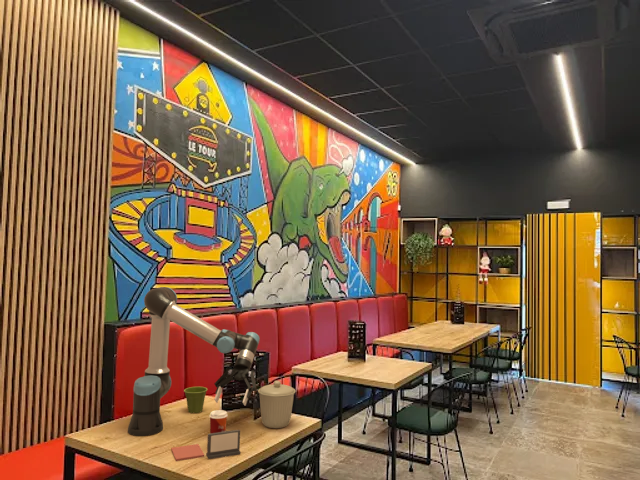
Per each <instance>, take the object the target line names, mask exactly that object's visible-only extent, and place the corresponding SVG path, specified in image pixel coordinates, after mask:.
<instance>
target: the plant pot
mask: <svg viewBox="0 0 640 480" xmlns="http://www.w3.org/2000/svg"><path fill="white" fill-rule="evenodd" d="M207 391H208V388H207V387H204V386H191V387H187V388H185V389H184V390H183V392H184V393H185V397H186V406H187V412H188V413H190V414H199V413H202V411H203V409H204V404H205V398H206V394H207Z"/></svg>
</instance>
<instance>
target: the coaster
mask: <svg viewBox="0 0 640 480" xmlns="http://www.w3.org/2000/svg"><path fill="white" fill-rule="evenodd" d="M170 450H171V453H172V455H173V458H174V460H175V462H180V461H185V460H193V459H201V458H205V454H204V452H203V449H202V448H201V446H200V445H199V444H198V443H196V444H190V445H189V444H188V445H181V446H173V447H171V449H170Z"/></svg>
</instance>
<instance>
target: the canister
mask: <svg viewBox="0 0 640 480" xmlns="http://www.w3.org/2000/svg"><path fill="white" fill-rule="evenodd" d="M257 392H258V394H259V405H260V407H259V408H260V417H261V422H262V424H263V426H265V427H266V428H270V429H282V428H284V427H287V426H289V424H290V422H291V416H292V411H293V404H294V397H295V396H294V395H295V393H296V389H295V388H294V387H292V386H290V385H287V384H282V382H281V381H280V380H274V381H273V383H272V384H266V385H263V386H261V387H260V388H259V389H258V390H257Z"/></svg>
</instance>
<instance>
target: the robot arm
mask: <svg viewBox="0 0 640 480" xmlns="http://www.w3.org/2000/svg"><path fill="white" fill-rule="evenodd" d="M143 301H144V302H143V304H144V306H145V308H146V309H147V311H148V316H150V318H151V327H150V339H149V340H150V341H149V352H148V353H149V355H148V367H147V368H146V369H145V370H144V376H141V377H138V378H136V379H135V381H134V384H133V389H132V390H133V396H132V397H133V399H132V415H131V418H130V421H129V423H128V426H127V433H128V434H129V435H131V436H136V437H146V436H147V437H148V436H152V435H156V434H158V433H161V432H162V431H163V430H164V423H163V419H162V416H161V413H160V412H161V410H160V409H161V399H162V398H163V397H164V396H165V395H166V394H167V393H168V392H169V391H170V389H171V387H172V378H171V374H170V368H169V367H168V356H169V355H168V354H169V340H170V327H171V325H170V324H171V322H173V324H175V325H177V326H179V327H181V328H182V329H184V330H187V331H188V332H190V333H191V334H193V335H194V336H197V337H198V338H200V339H202V340H203V341H205V342H207V343H208V344H210V345H212V346H213V347H215V348H217V350H218V352H219V353H221V354H228V353H231V352H232V351H233V350H234V349H235V350H238V351H239V353H238V355H237V358H236V360H235V363H234V367H233V369H230V368H229V367H227V368H226V369H225V371H224V372H223V374H222V375H220V376H219V378H218V379H217V380H216V381H215V382H214V386H215V387H216V389H215V393H214V394H215V396H214V401H215V403H219V400H220V398H221V395H222V392H223V388H224V387H226V386H227V385H229V383H231V382H232V381H238V380H239V381H242V380H244V382H245V384H246V386H247V389H245V390H246V391H245V394H244V397H243V399H242V404H243V405H244V406H247V403H248V400H249V399H250V398H251V396H252V393H253V392H256V391H257V392H258V390H257V384H256V378H255V377H256V376H255V375H256V373H255V371H254V369H252V370H251V367H252V364H253V362H254V358H255V356H256V353H257V350H258V346H259V344H260V340H261V339H260V335H258V334H257V333H256V332H253V331H248V332H247V333H246V334H242V333H238V332H236V331H231V330H230V329H225V328H224V329H219V328H217V327H216V326H214V325H212V324H211V323H210V322H207V321H205V320H203V319H202V318H201V317H198V316H197V315H195V314H194V313H191V312H190V311H188V310H187V309H184V308H183V307H181V306H179V304H177V303H178V302H177V301H178V296H177V293H176V291H174V290H173V289H172V288H171V287H166V286H160V287H155V288H152V289H150V290H148V291H147V292H146V294H145V295H144V298H143ZM250 370H251V371H250ZM248 376H250V379H251V384H250V382H249V381H248V378H247V377H248Z"/></svg>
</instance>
